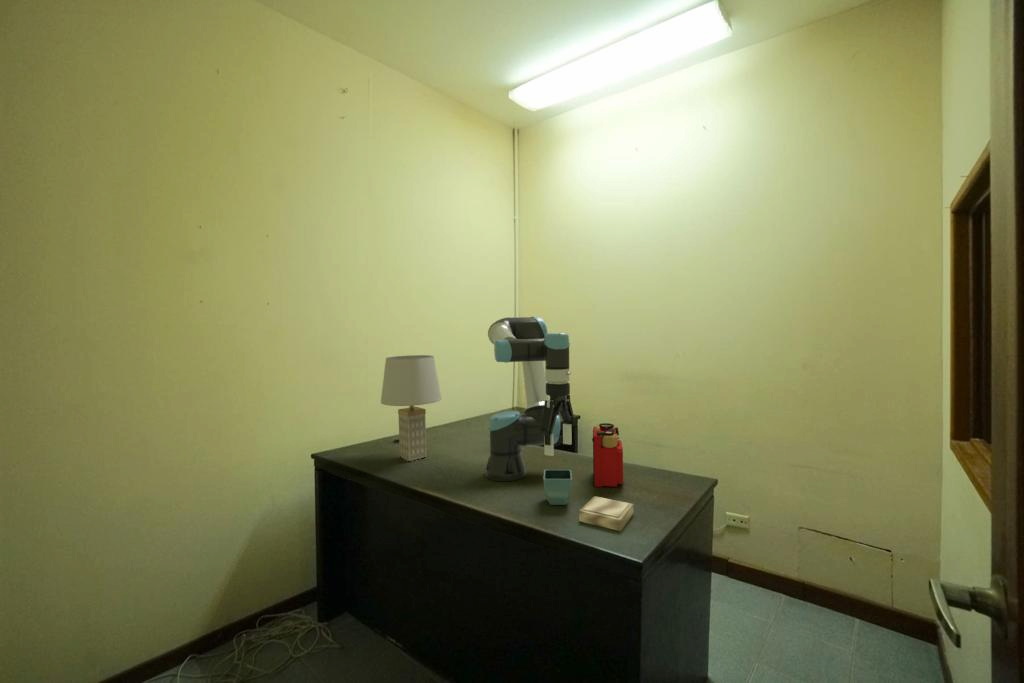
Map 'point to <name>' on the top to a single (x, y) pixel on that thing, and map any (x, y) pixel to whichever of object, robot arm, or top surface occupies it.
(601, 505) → the oak stand
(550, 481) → the flower pot
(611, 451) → the red mechanical box
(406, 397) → the lamp
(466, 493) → the top surface
